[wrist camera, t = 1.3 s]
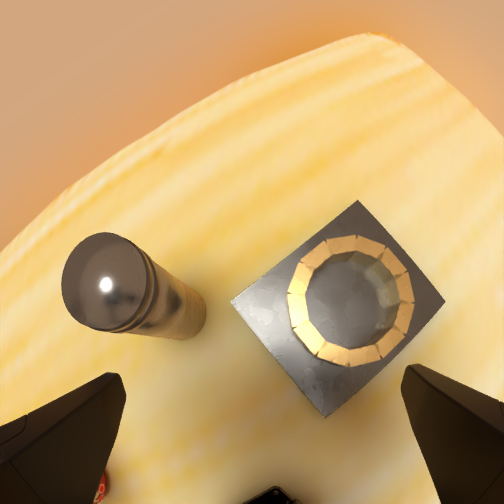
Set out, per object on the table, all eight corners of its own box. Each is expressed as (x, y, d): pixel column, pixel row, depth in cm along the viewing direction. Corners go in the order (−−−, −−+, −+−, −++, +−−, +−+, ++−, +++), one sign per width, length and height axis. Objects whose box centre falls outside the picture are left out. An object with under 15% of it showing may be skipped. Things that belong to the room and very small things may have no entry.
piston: (174, 351, 24) (85, 349, 12) (145, 307, 26) (48, 269, 13) (218, 318, 25) (160, 288, 12) (186, 275, 26) (113, 211, 14)
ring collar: (323, 415, 22) (330, 425, 18) (231, 303, 25) (224, 296, 22) (440, 303, 23) (460, 296, 20) (355, 204, 27) (364, 185, 24)
